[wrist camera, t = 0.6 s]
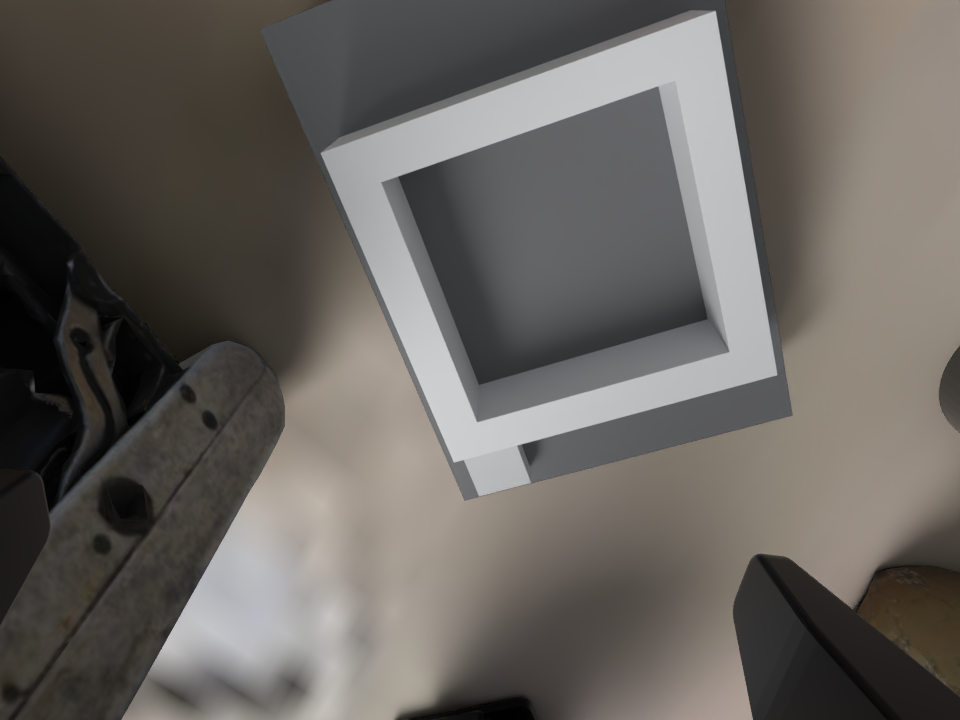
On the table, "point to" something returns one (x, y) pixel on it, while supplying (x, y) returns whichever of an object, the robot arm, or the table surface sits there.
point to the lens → (951, 391)
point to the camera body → (548, 219)
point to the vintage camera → (110, 469)
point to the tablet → (919, 616)
